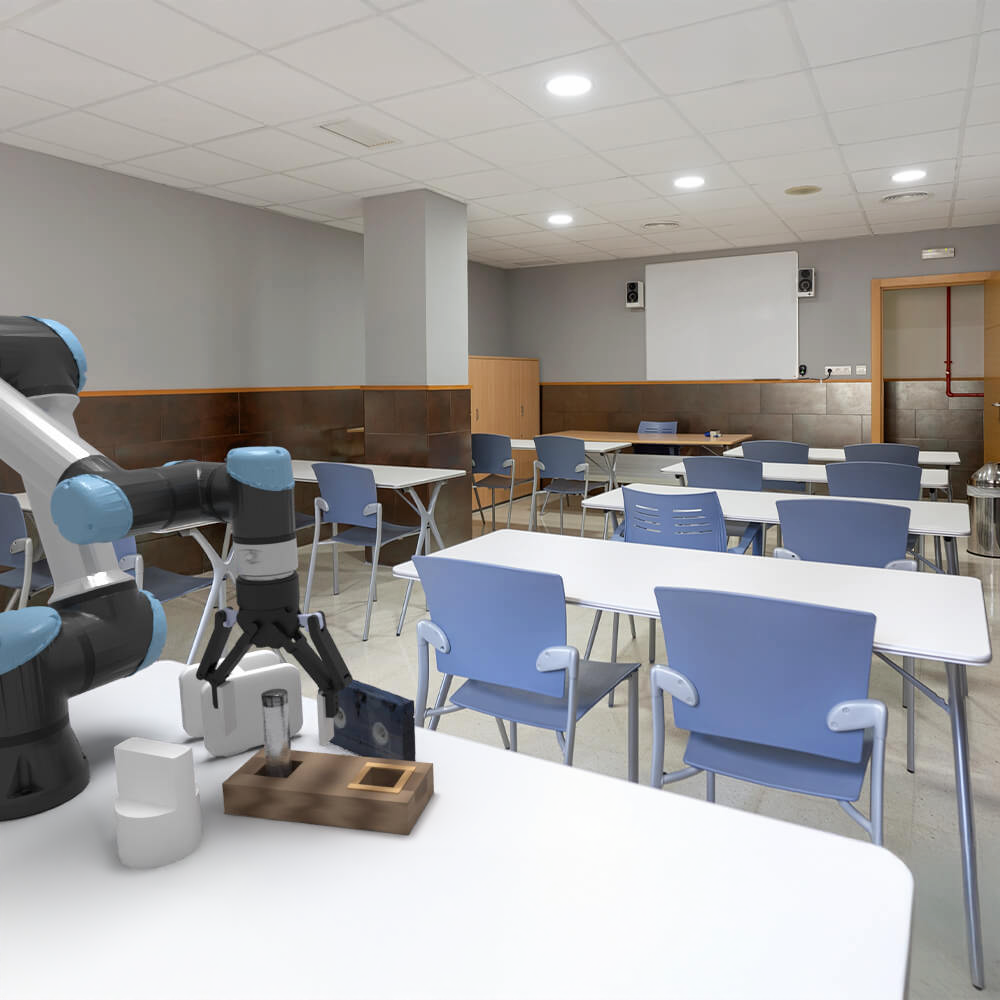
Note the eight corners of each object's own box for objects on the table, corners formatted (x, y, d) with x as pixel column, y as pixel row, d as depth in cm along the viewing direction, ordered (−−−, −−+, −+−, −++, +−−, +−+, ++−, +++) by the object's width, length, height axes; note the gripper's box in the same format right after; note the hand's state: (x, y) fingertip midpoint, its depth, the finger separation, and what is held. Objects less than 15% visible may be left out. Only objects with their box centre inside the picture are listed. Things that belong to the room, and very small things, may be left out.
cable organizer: (202, 765, 113) (196, 686, 111) (182, 739, 121) (176, 665, 120) (304, 737, 121) (300, 663, 120) (279, 714, 130) (275, 644, 128)
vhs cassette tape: (417, 768, 111) (415, 699, 110) (401, 777, 109) (398, 706, 107) (335, 732, 123) (331, 669, 122) (318, 738, 121) (315, 675, 119)
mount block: (224, 813, 100) (222, 781, 100) (264, 775, 110) (262, 745, 109) (408, 834, 95) (407, 801, 94) (434, 792, 104) (433, 761, 104)
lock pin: (263, 802, 103) (256, 697, 101) (275, 790, 106) (269, 687, 104) (286, 805, 102) (279, 699, 100) (297, 792, 105) (292, 689, 103)
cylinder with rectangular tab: (100, 859, 91) (90, 759, 89) (159, 818, 99) (151, 726, 98) (163, 875, 88) (155, 771, 86) (219, 831, 96) (212, 736, 94)
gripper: (158, 576, 99) (171, 741, 102) (349, 584, 93) (357, 758, 96) (194, 562, 106) (206, 716, 109) (373, 569, 100) (380, 731, 103)
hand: (277, 736), depth 103 cm, fingers open, 13 cm apart
